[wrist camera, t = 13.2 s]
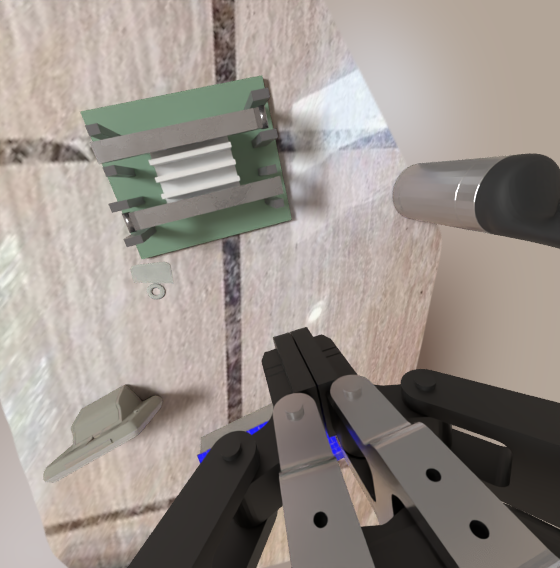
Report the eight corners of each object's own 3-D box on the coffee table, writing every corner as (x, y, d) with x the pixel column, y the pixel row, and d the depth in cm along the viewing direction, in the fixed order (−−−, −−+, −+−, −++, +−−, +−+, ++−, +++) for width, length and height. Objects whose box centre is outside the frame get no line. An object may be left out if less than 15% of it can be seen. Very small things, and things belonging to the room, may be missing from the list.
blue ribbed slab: (198, 435, 59) (195, 482, 50) (309, 381, 60) (327, 417, 51) (237, 488, 66) (240, 538, 57) (336, 439, 67) (355, 480, 58)
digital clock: (85, 443, 54) (56, 501, 44) (59, 407, 50) (21, 461, 41) (171, 411, 55) (162, 460, 46) (151, 374, 52) (137, 419, 42)
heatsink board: (261, 77, 41) (273, 48, 32) (290, 219, 48) (307, 227, 39) (83, 113, 38) (43, 92, 29) (143, 257, 45) (125, 276, 36)
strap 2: (278, 175, 38) (280, 175, 37) (282, 194, 39) (283, 194, 38) (123, 213, 36) (120, 213, 35) (130, 232, 37) (129, 233, 36)
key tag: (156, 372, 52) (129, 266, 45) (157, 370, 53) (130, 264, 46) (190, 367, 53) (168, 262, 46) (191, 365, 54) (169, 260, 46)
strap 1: (263, 106, 35) (265, 104, 34) (268, 128, 36) (269, 126, 35) (92, 142, 32) (89, 141, 32) (101, 164, 33) (98, 164, 33)
